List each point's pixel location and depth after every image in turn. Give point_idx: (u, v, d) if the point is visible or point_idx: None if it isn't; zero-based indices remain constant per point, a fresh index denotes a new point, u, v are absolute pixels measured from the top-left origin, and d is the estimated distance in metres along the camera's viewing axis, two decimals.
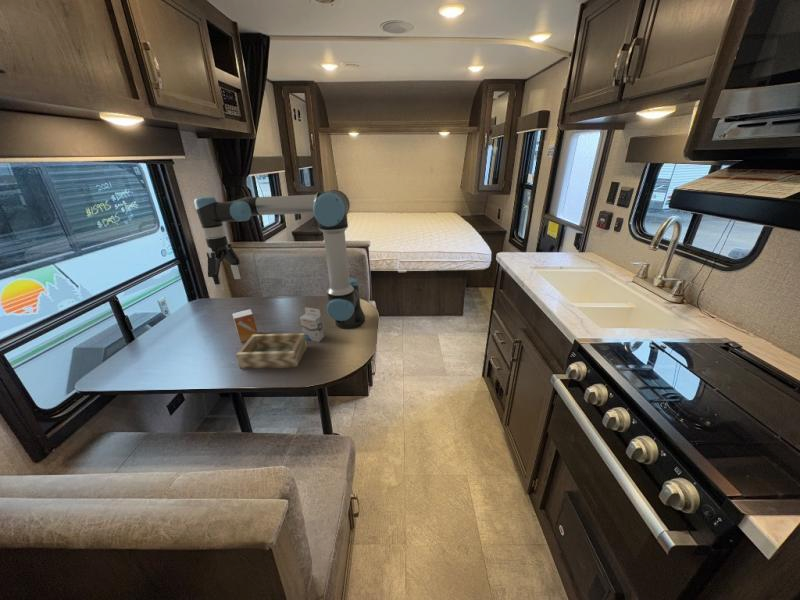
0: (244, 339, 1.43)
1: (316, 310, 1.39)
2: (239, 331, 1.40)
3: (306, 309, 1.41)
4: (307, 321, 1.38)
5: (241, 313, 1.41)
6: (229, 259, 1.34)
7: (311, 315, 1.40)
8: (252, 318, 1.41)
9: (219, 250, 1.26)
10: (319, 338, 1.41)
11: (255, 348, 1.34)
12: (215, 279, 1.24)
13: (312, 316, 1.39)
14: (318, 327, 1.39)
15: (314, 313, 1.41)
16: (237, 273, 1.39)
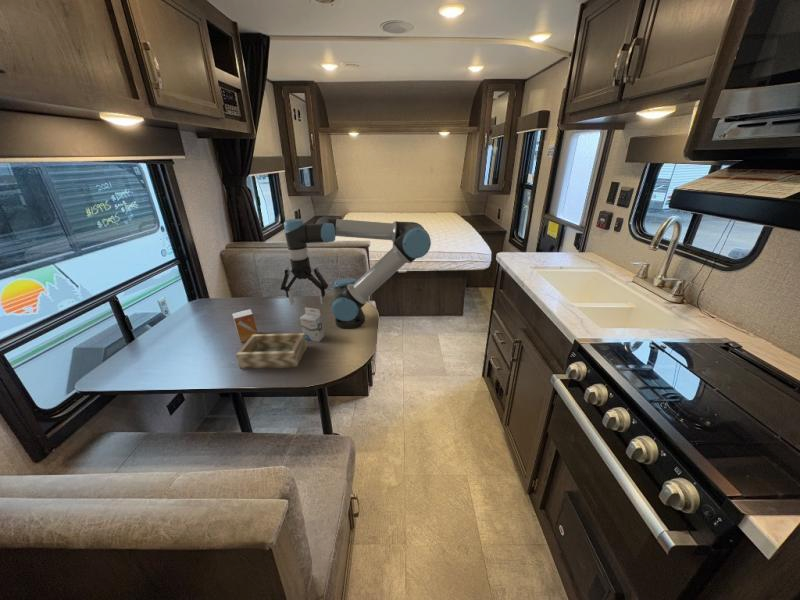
0: (244, 339, 1.43)
1: (316, 310, 1.39)
2: (239, 331, 1.40)
3: (306, 309, 1.41)
4: (307, 321, 1.38)
5: (241, 313, 1.41)
6: None
7: (311, 315, 1.40)
8: (252, 318, 1.41)
9: (296, 270, 1.28)
10: (319, 338, 1.41)
11: (255, 348, 1.34)
12: None
13: (312, 316, 1.39)
14: (318, 327, 1.39)
15: (314, 313, 1.41)
16: None
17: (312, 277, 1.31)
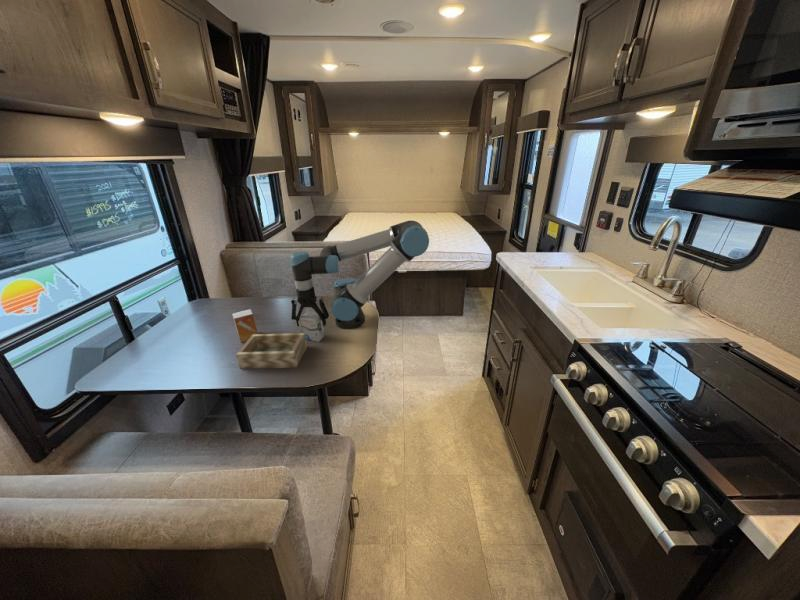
0: (244, 339, 1.43)
1: None
2: (239, 331, 1.40)
3: (306, 309, 1.41)
4: (306, 321, 1.38)
5: (241, 313, 1.41)
6: None
7: (311, 315, 1.40)
8: (252, 318, 1.41)
9: (301, 299, 1.34)
10: (319, 338, 1.41)
11: (255, 348, 1.34)
12: None
13: (312, 315, 1.39)
14: (318, 327, 1.39)
15: (314, 313, 1.41)
16: None
17: (316, 306, 1.37)
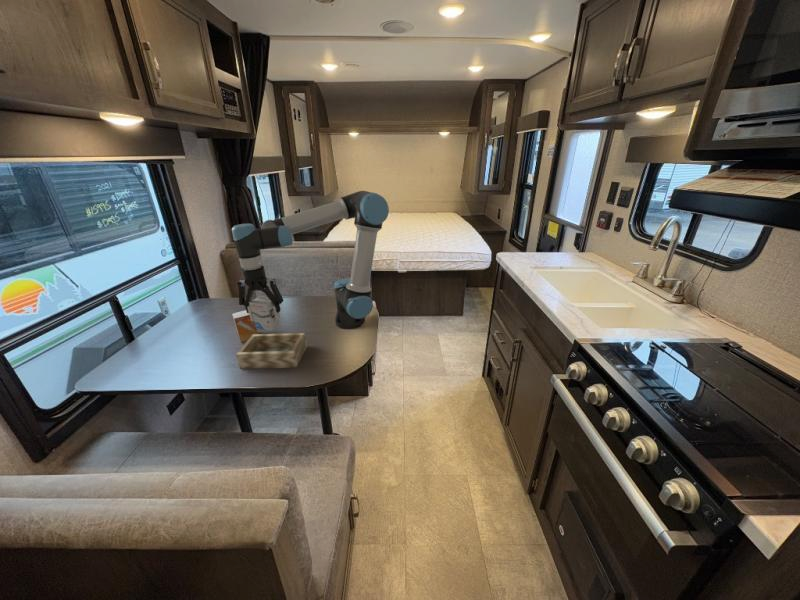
0: (244, 339, 1.43)
1: None
2: (239, 331, 1.40)
3: (257, 293, 1.22)
4: (256, 306, 1.19)
5: (241, 313, 1.41)
6: None
7: (262, 300, 1.21)
8: None
9: (249, 280, 1.15)
10: (272, 326, 1.22)
11: (255, 348, 1.34)
12: None
13: (263, 300, 1.20)
14: (271, 313, 1.20)
15: (266, 297, 1.21)
16: None
17: (267, 289, 1.18)
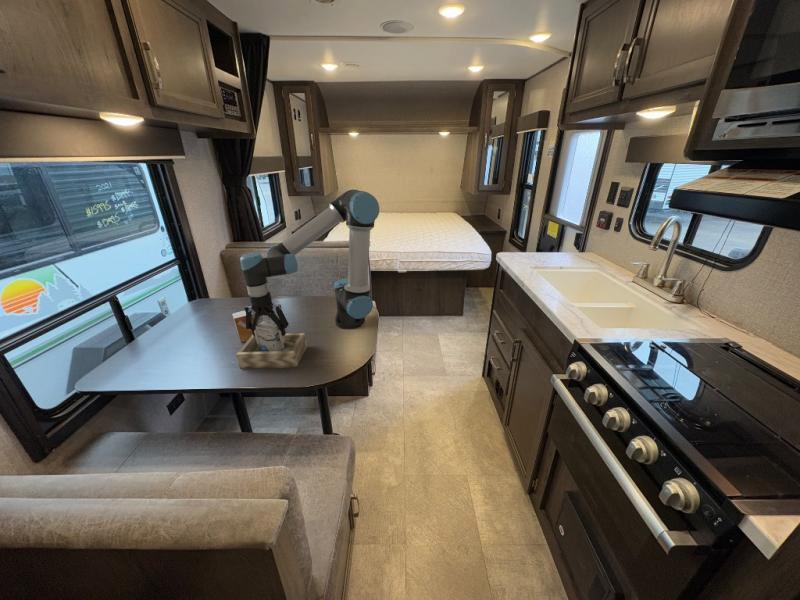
0: (244, 339, 1.43)
1: None
2: (239, 331, 1.40)
3: (263, 317, 1.27)
4: (263, 330, 1.23)
5: (241, 313, 1.41)
6: None
7: (268, 324, 1.25)
8: (252, 318, 1.41)
9: (256, 306, 1.20)
10: (278, 349, 1.26)
11: (255, 348, 1.34)
12: None
13: (269, 324, 1.25)
14: (276, 337, 1.25)
15: (272, 321, 1.26)
16: None
17: (273, 314, 1.22)
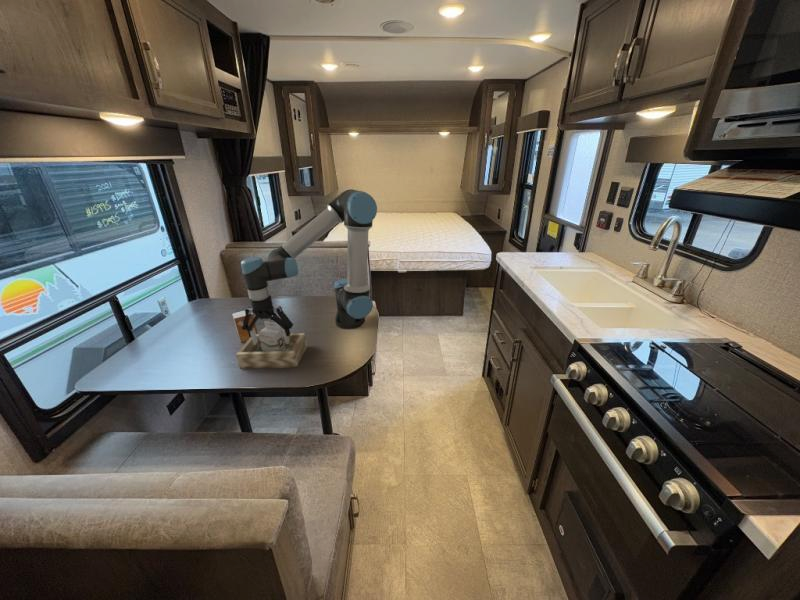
0: (244, 339, 1.43)
1: (276, 324, 1.26)
2: (239, 331, 1.40)
3: (265, 323, 1.28)
4: (265, 336, 1.24)
5: (241, 313, 1.41)
6: None
7: (271, 330, 1.27)
8: (252, 318, 1.41)
9: (257, 310, 1.20)
10: None
11: (255, 348, 1.34)
12: None
13: (271, 330, 1.26)
14: (279, 343, 1.26)
15: (274, 327, 1.27)
16: None
17: (275, 316, 1.23)
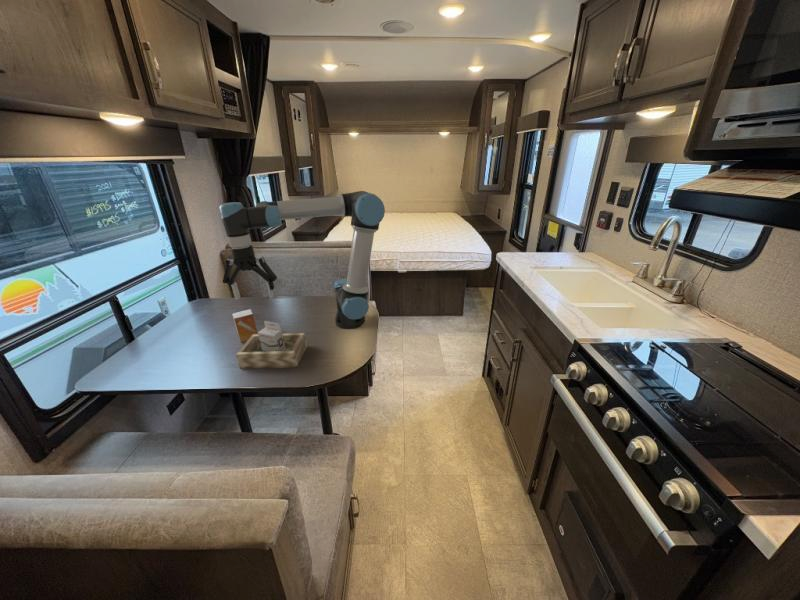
0: (244, 339, 1.43)
1: (276, 324, 1.26)
2: (239, 331, 1.40)
3: (265, 323, 1.28)
4: (265, 336, 1.24)
5: (241, 313, 1.41)
6: None
7: (271, 330, 1.27)
8: (252, 318, 1.41)
9: (238, 261, 1.15)
10: None
11: (255, 348, 1.34)
12: None
13: (271, 330, 1.26)
14: (279, 343, 1.26)
15: (274, 327, 1.27)
16: None
17: (258, 268, 1.17)
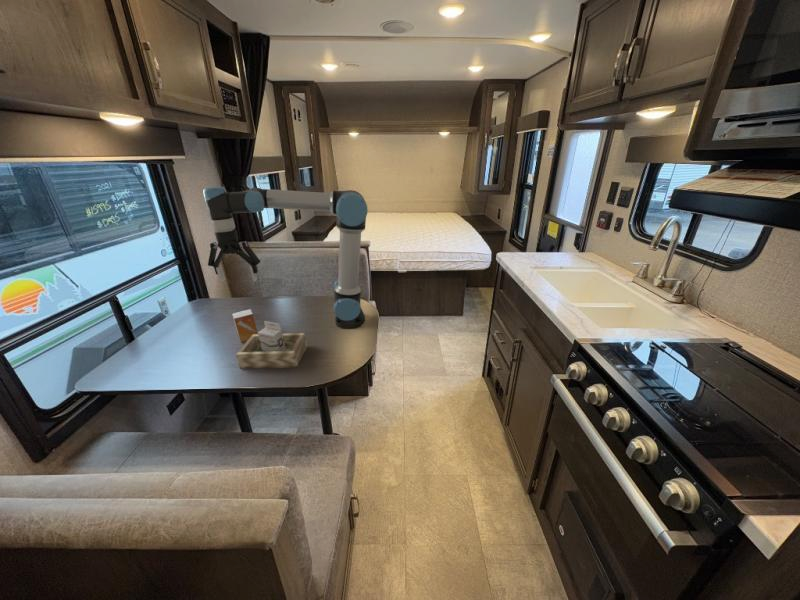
0: (244, 339, 1.43)
1: (276, 324, 1.26)
2: (239, 331, 1.40)
3: (265, 323, 1.28)
4: (265, 336, 1.24)
5: (241, 313, 1.41)
6: None
7: (271, 330, 1.27)
8: (252, 318, 1.41)
9: (222, 244, 1.19)
10: None
11: (255, 348, 1.34)
12: None
13: (271, 330, 1.26)
14: (279, 343, 1.26)
15: (274, 327, 1.27)
16: None
17: (241, 252, 1.21)
